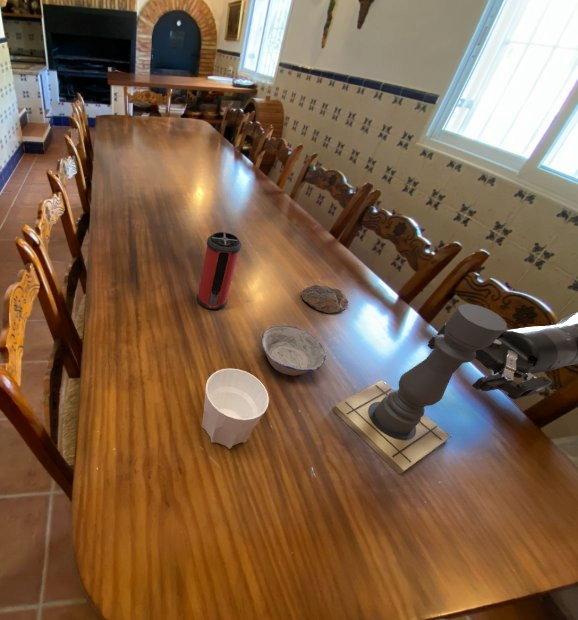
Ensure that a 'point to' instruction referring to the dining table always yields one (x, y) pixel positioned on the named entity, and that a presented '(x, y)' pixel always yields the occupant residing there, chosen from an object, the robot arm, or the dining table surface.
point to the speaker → (218, 270)
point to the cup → (233, 406)
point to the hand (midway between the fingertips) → (453, 362)
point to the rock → (325, 298)
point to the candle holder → (439, 367)
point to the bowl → (292, 350)
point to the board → (387, 444)
